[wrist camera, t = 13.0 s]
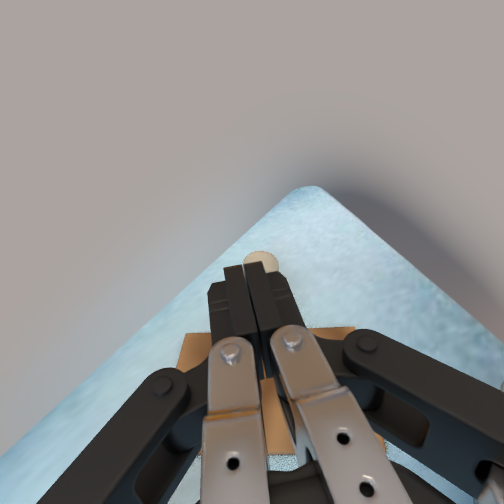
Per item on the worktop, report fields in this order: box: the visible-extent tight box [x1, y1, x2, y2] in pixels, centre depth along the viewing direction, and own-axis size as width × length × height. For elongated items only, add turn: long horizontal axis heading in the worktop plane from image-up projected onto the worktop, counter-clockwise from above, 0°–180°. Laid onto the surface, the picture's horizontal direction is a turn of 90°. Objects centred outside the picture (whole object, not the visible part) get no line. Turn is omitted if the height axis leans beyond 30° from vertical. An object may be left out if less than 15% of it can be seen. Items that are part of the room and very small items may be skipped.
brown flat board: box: [176, 327, 386, 455], centre depth 36 cm, size 20×14×1 cm
